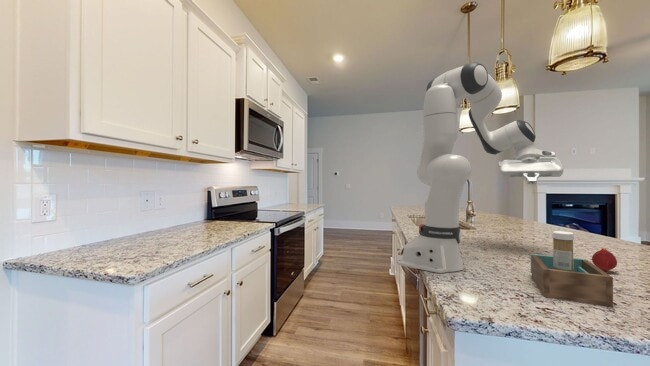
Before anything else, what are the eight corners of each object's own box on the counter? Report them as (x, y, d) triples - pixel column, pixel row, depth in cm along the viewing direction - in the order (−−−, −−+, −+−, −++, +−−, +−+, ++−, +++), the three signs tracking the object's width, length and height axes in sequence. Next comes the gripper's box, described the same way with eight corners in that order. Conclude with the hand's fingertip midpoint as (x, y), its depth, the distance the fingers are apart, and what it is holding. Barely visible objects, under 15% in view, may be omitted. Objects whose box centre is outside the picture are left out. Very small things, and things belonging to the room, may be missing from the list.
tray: (540, 286, 74) (540, 265, 74) (530, 272, 86) (530, 253, 86) (605, 295, 68) (605, 272, 68) (585, 279, 80) (585, 259, 80)
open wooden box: (543, 296, 71) (543, 269, 71) (531, 277, 85) (531, 254, 85) (613, 307, 64) (612, 277, 64) (587, 284, 79) (587, 260, 79)
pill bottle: (576, 280, 77) (576, 232, 77) (570, 283, 74) (570, 234, 74) (555, 275, 80) (555, 230, 80) (549, 278, 78) (549, 231, 78)
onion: (622, 274, 87) (622, 249, 87) (604, 274, 87) (604, 249, 87) (604, 268, 93) (604, 245, 93) (587, 268, 93) (587, 245, 93)
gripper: (498, 154, 117) (500, 177, 108) (560, 151, 107) (568, 176, 98) (497, 165, 121) (499, 188, 112) (556, 164, 111) (564, 188, 102)
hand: (532, 182), depth 105 cm, fingers closed
